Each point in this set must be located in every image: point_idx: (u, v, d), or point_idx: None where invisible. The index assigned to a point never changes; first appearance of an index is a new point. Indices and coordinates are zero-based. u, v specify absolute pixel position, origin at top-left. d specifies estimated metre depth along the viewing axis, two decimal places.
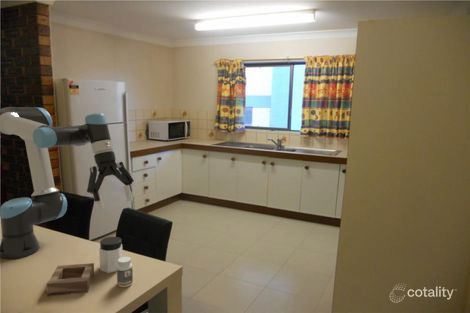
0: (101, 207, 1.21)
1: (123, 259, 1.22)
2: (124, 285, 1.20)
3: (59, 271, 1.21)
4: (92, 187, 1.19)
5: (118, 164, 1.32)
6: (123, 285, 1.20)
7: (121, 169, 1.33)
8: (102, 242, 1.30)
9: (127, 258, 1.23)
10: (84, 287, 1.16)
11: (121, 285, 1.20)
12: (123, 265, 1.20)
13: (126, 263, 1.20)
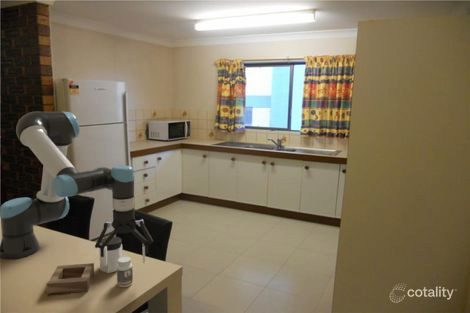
0: (104, 263, 1.19)
1: (123, 259, 1.22)
2: (124, 285, 1.20)
3: (59, 271, 1.21)
4: (97, 243, 1.17)
5: (138, 222, 1.20)
6: (123, 285, 1.20)
7: None
8: (102, 242, 1.30)
9: (127, 258, 1.23)
10: (84, 287, 1.16)
11: (121, 285, 1.20)
12: (123, 265, 1.20)
13: (126, 263, 1.20)
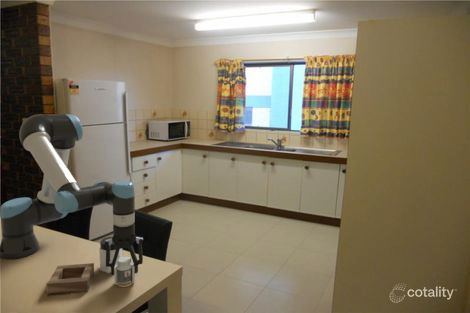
0: None
1: (123, 259, 1.22)
2: (124, 285, 1.20)
3: (59, 271, 1.21)
4: (107, 262, 1.19)
5: (138, 239, 1.21)
6: (123, 285, 1.20)
7: (138, 245, 1.22)
8: (102, 242, 1.30)
9: (127, 257, 1.23)
10: (84, 287, 1.16)
11: (121, 285, 1.20)
12: (123, 265, 1.20)
13: (126, 263, 1.20)
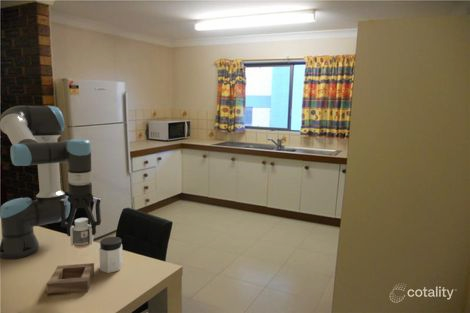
0: None
1: (80, 219, 1.18)
2: (81, 246, 1.17)
3: (59, 271, 1.21)
4: (62, 222, 1.16)
5: (95, 200, 1.18)
6: (79, 246, 1.17)
7: None
8: (102, 242, 1.30)
9: (85, 219, 1.19)
10: (84, 287, 1.16)
11: (77, 246, 1.17)
12: (79, 226, 1.17)
13: (83, 223, 1.17)
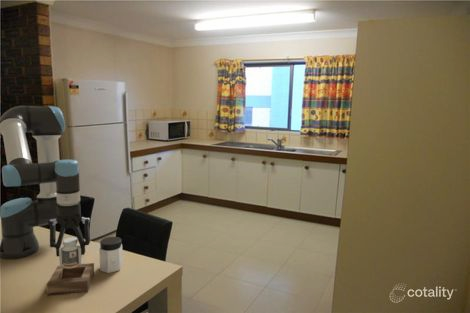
0: None
1: (69, 239, 1.19)
2: (69, 266, 1.17)
3: (59, 271, 1.21)
4: (51, 243, 1.16)
5: (84, 220, 1.18)
6: (68, 267, 1.17)
7: None
8: (102, 242, 1.30)
9: (74, 238, 1.20)
10: (84, 287, 1.16)
11: (66, 266, 1.17)
12: (68, 246, 1.17)
13: (71, 244, 1.17)
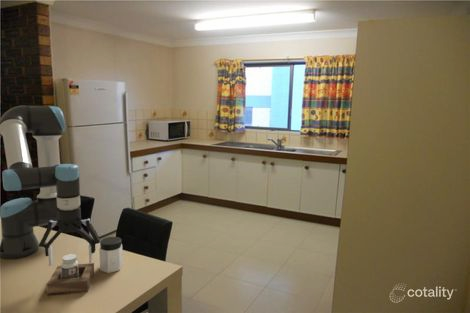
0: None
1: (68, 256, 1.20)
2: None
3: (59, 271, 1.21)
4: (41, 243, 1.15)
5: (84, 222, 1.18)
6: None
7: None
8: (102, 242, 1.30)
9: (73, 255, 1.21)
10: (84, 287, 1.16)
11: None
12: (67, 263, 1.18)
13: (70, 261, 1.18)
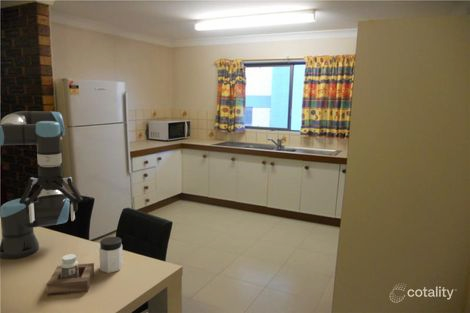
0: None
1: (68, 256, 1.20)
2: None
3: (59, 271, 1.21)
4: (22, 199, 1.15)
5: (66, 180, 1.18)
6: None
7: None
8: (102, 242, 1.30)
9: (73, 255, 1.21)
10: (84, 287, 1.16)
11: None
12: (67, 263, 1.18)
13: (70, 260, 1.18)
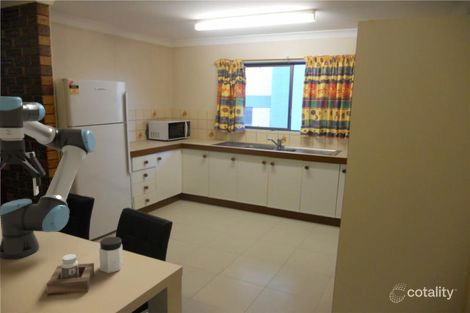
0: None
1: (68, 256, 1.20)
2: None
3: (59, 271, 1.21)
4: None
5: (28, 154, 1.21)
6: None
7: None
8: (102, 242, 1.30)
9: (73, 255, 1.21)
10: (84, 287, 1.16)
11: None
12: (67, 263, 1.18)
13: (70, 261, 1.18)
